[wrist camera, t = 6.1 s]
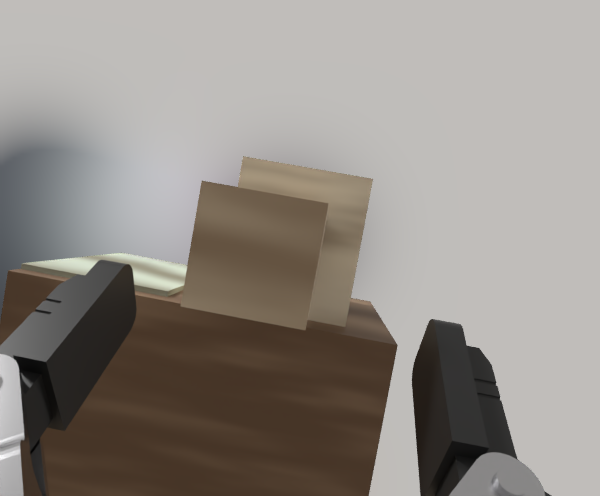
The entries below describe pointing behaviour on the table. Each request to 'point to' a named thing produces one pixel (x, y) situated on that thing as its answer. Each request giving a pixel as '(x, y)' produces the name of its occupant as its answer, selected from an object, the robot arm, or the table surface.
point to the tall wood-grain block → (215, 397)
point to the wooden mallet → (277, 245)
